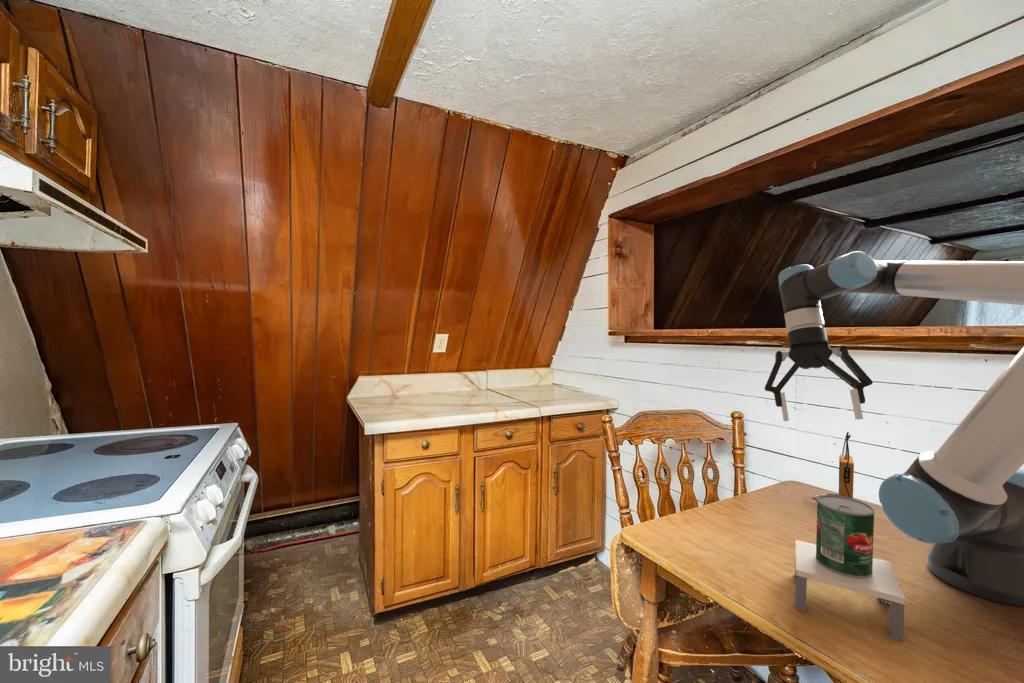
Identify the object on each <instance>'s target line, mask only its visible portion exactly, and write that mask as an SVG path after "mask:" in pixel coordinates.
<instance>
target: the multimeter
mask: <svg viewBox="0 0 1024 683" xmlns="http://www.w3.org/2000/svg"><path fill="white" fill-rule="evenodd" d="M851 437H852V435H851V434H850V433H849V431H847V432H846V434H845V438H844V444H843V448H842V453H841V454H839V458H838V462H839V466H838V494H833V493H821V494H820V493H819V494H817V495H816V496H815V495H810V494H807V493H806V494H807V496H808V497H809V496H810V497H811V498H813V499H815V500H817V498H818V497H819V496H823V495H835V496H842V497H847V498H852V499H854V475H855V474H854V471H855V470H854V469H855V464H854V463H855V462H854V460H853V456H850V448H849V440H850V438H851Z"/></svg>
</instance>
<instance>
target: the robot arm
mask: <svg viewBox="0 0 1024 683" xmlns="http://www.w3.org/2000/svg"><path fill="white" fill-rule="evenodd" d="M778 290H779V293H780V299H781V302H782V308H783V315H784V321H785V329H786V331H788V333H787V340H788V345H789V346H788V348H789V351H781V350H777V351H776V352H775V354H774V358H775V359H774V360H775V362H774V364H773V367H772V369H771V372H770V374H769V376H768V379H767V381H766V384H765V386H764V388H763V389H764V391H765V392H771V393H773V396H774V402H775V405H776V407H779V408H781V412H782V413H781V414H782V419H783V422H789V420H790V419H789V418H790V417H789V414H788V413H789V412H788V406H787V401H786V394H785V392H781V391H782V389H783V388H784V387H785V386H786V385H787V383H788V382H789V381H790V380H791V379H792V377H793V375H794V374H795V373H796V372H797V371H798V369H799V368H801V369H803V370H809V369H820V368H822V367H824V368H825V369H827V370H829V371H830V372H832V373H833V374H834V375H835V376H837V377H838V378H839V379H841V380H842V381H844V382H845V383H846V384H848V385H849V386H850V387H852V388H851V389H850V390H849V393H850V398H851V403H852V408H853V413H854V420H863V419H864V417H863V412H862V407H861V406H862V405H863V404H865V403H866V399H865V398H866V397H865V392H864V388H865V387H868V386H872V384H873V383H874V382H873V380H872V379H871V378H870V377H869V375H867V373H866V372H865V371H864V370H863V369H862V368H861V366H860V365H859V364H858V363H857V362H856V360H854V358H852V356H851V355H850V354H849V350H848V347H847V346H845V345H840V346H839V347H834V348H831V347H830V344H829V341H828V336H827V330H826V328H825V319H824V316H823V309H822V304H821V301H823V300H825V299H828V298H831V297H834V296H837V295H841V294H874V295H875V294H879V295H890V296H907V297H920V298H934V299H943V300H945V299H946V300H955V301H957V300H958V301H966V302H967V301H969V302H983V303H992V304H993V303H995V304H1004V305H1005V304H1008V305H1018V306H1024V261H1006V260H1005V261H1002V260H1001V261H992V260H991V261H989V260H988V261H986V260H985V261H984V260H983V261H982V260H979V261H978V260H966V261H965V260H962V261H961V260H890V259H889V260H878V259H873V258H872V256H871V255H869V254H866V253H865V252H864V251H861V250H860V251H859V250H857V251H856V250H855V251H851V252H849V253H847V254H841V255H839V256H837V257H834V259H832V260H829V261H827V262H825V263H822V264H821V265H818V266H816V267H814V266H812V265H811V264H797V265H793V266H789V267H786V268H784V269H782V270H781V271H780V272H779V274H778ZM833 354H834V355H835V356H836V357H838V358H840V359H841V361H842V363H844V364H845V366H846V367H847V368H848V369H849V370H850V372H851V373H853V375H854V376H855V377H856V378H855V377H854V376H852V375H851V374H849V373H848V372H847V371H846V370H844V369H842V368H841V367H840V366H839V365H837V364H836V363H835V362H834V361H833V360H831V359H830V358H831V356H832V355H833ZM787 358H789V359H790V360H791V361H792V362H793V363H794V364H792V366H791V368H789V369H788V370H787V373H785V375H784V376H783V377H782V379H781V380H780V381H779V382H778V384H776V386H774V382H775V379H776V378H777V375H778V374H779V370H780V368H781V366H782V362H785V361H786V359H787ZM1023 465H1024V346H1023V347H1022V348H1021V349H1020V351H1019V352H1017V354H1016V355H1015V357H1014V358H1013V359H1012V360H1011V362H1010V363H1009V364H1008V365H1007V366H1006V368H1004V370H1003V371H1002V373H1001V374H1000V375H998V377H997V379H996V380H995V381H994V382H993V383H992V384H991V386H990V387H989V388H988V389H987V391H986V392H985V393H984V394H983V395H982V396H981V397H980V399H979V400H978V401H977V403H976V404H975V405H974V406H973V407H972V409H971V410H970V411H969V412H968V413H967V415H966V416H965V417H964V418H963V420H962V421H961V422H960V423H959V424H958V425H957V427H956V428H955V429H954V430H953V432H952V433H951V434H950V435H949V436H948V438H946V440H945V441H944V442H943V443H942V445H941V446H940V447H939V449H938V450H936V451H935V450H933V451H932V450H930V451H929V450H928V451H927V450H926V451H923V452H922V453H920V454H919V455H918V456H917V457H916V459H915V460H914V461H913V462H912V463H911V465H910V466H909V467H908V468H907V469H906V470H905V471H904V472H903V473H895V474H893V475H891V476H889V477H887V478H885V479H884V480H883V481H882V483H880V485H879V490H878V500H879V502H880V504H881V506H882V511H883V513H884V514H885V516H886V517H887V519H888V520H889V522H890V523H891V524H892V525H893V526H894V527H896V529H898V530H899V531H900V532H902V533H903V534H905V535H906V536H908V537H909V538H911V539H914V540H916V541H918V542H922V543H924V544H926V543H927V544H932V545H931V548H930V549H929V552H928V554H927V568H928V570H929V571H930V572H931V573H932V574H933V575H934V576H936V577H938V578H939V579H940V580H942V581H944V582H946V583H947V584H949V585H951V586H953V587H955V588H957V589H958V590H959V589H960V590H962V591H964V592H966V593H969V594H972V595H975V596H976V597H977V596H978V597H980V598H983V599H987V600H990V601H993V602H996V603H997V602H998V603H1001V604H1007V605H1012V606H1018V607H1024V469H1022V468H1021V467H1022V466H1023Z"/></svg>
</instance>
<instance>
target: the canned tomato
mask: <svg viewBox="0 0 1024 683" xmlns="http://www.w3.org/2000/svg"><path fill="white" fill-rule="evenodd" d="M835 495H836V494H834V495H823V496H817V499H816V500H817V503H816V504H817V505H816V533H815V534H816V538H815V539H816V560H817V562H818V563H819V564H820V565H822V566H823V567H825V568H826V569H828V570H830V571H832V572H835V573H837V574H840V575H844V576H848V577H853V578H868V577H870V576H872V574H873V571H872V564H873V558H874V557H873V556H874V536H875V534H874V531H875V527H874V526H875V525H874V524H875V509H874V507H872V506H871V505H869V504H868V503H866V502H863V501H861V500H858V499H855V498H853V499H852V498H847V497H842V496H835Z"/></svg>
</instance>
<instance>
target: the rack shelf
mask: <svg viewBox="0 0 1024 683" xmlns="http://www.w3.org/2000/svg"><path fill="white" fill-rule="evenodd" d="M794 546H795V550H794V551H795V557H794V559H795V561H794V563H795V566H794V569H795V570H794V579H795V578H796V579H795V604H794V605H795V610H799V611H801V612H805V613H806V612H807V589H808V588H807V585H808V579H809V580H812V581H816V582H819V583H823V584H827V585H831V586H835V587H838V588H842V589H845V590H850V591H853V592H857V593H859V594H860V593H861V594H863V595H868V596H871V597H874V598H877V599H879V600H878V602H879V601H883V602H887V603H890V605H888V606H889V607H888V608H889V609H888V612H889V613H888V635H889V638H890V639H892V640H896V641H899V642H901V643H904V633H905V606H906V597H905V594H904V592H903V589H902V588H901V585H900V582H899V579H898V578H897V574H896V573H895V571H894V568H893V566H892V562H891V561H889V560H884V559H880V558H876V557H873V564H872V571H873V574H872V576H870V577H868V578H853V577H848V576H844V575H840V574H837V573H835V572H832V571H830V570H828V569H826V568H825V567H823V566H822V565H820V564H819V563H818V562H817V560H816V544H815V543H810V542H806V541H803V540H798V539H795V545H794Z"/></svg>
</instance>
